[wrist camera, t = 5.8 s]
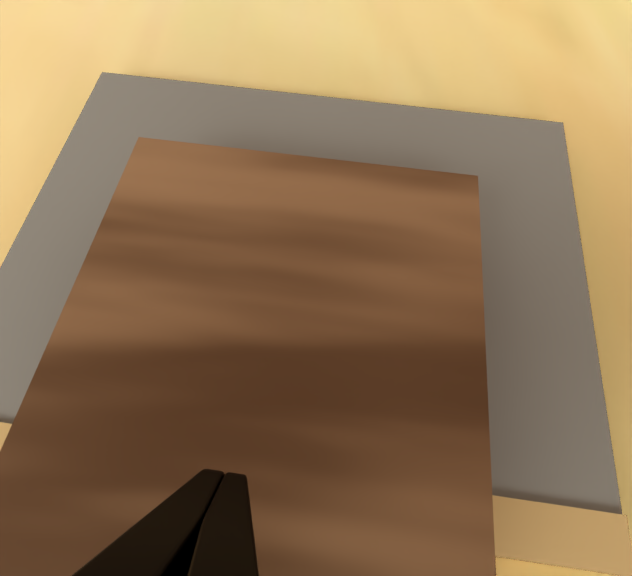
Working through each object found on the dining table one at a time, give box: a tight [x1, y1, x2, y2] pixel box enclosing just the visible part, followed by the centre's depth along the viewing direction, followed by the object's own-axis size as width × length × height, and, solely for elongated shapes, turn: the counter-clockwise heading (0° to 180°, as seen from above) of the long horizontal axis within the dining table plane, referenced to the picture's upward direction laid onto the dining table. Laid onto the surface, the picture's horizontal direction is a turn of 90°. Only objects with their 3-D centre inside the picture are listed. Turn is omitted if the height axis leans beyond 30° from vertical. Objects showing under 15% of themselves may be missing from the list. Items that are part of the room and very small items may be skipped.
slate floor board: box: [0, 72, 632, 576], centre depth 18 cm, size 18×22×1 cm
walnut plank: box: [0, 137, 496, 576], centre depth 14 cm, size 3×12×14 cm
